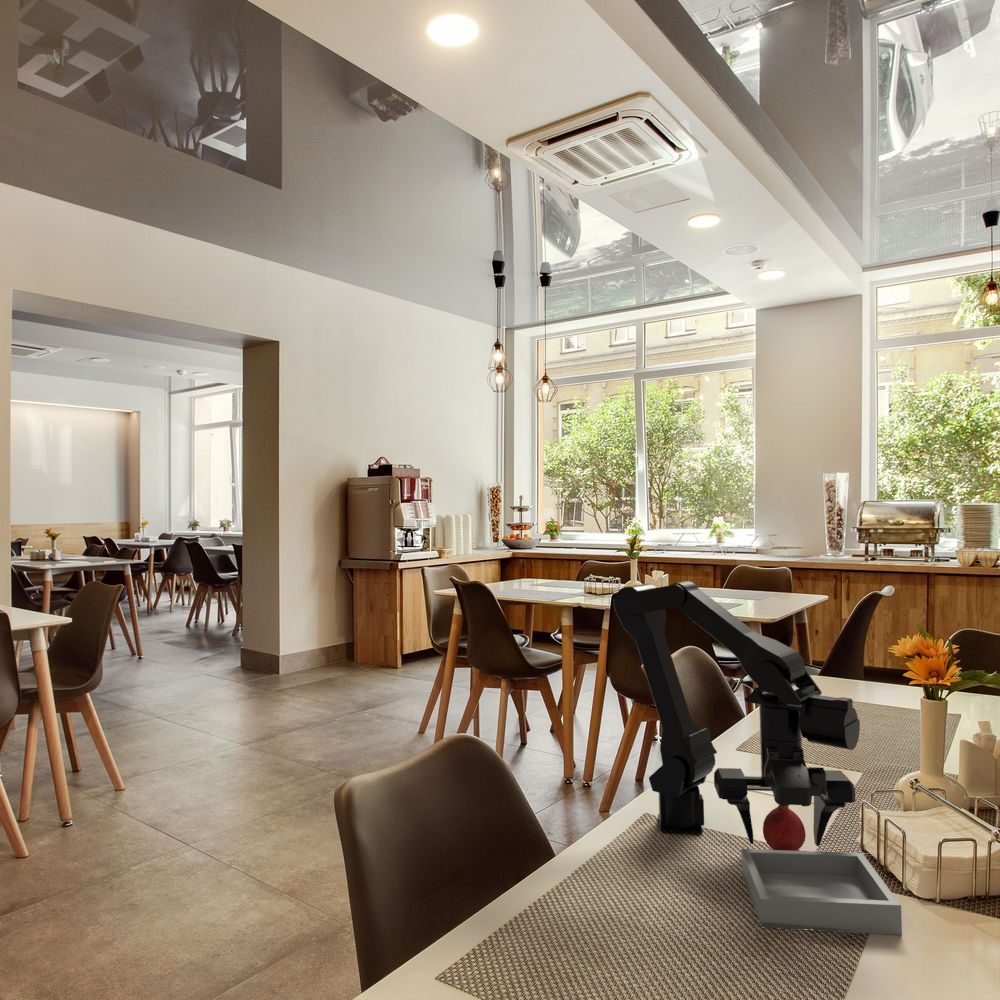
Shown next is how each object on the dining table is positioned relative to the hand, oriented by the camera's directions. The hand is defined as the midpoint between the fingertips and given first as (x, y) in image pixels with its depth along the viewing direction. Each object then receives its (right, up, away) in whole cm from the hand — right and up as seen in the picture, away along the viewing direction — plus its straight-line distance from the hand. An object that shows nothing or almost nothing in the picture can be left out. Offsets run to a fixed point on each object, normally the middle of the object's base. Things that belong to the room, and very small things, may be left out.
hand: (783, 843), depth 113 cm
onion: (0, -2, 0) cm, 2 cm away
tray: (-1, -2, -13) cm, 13 cm away
